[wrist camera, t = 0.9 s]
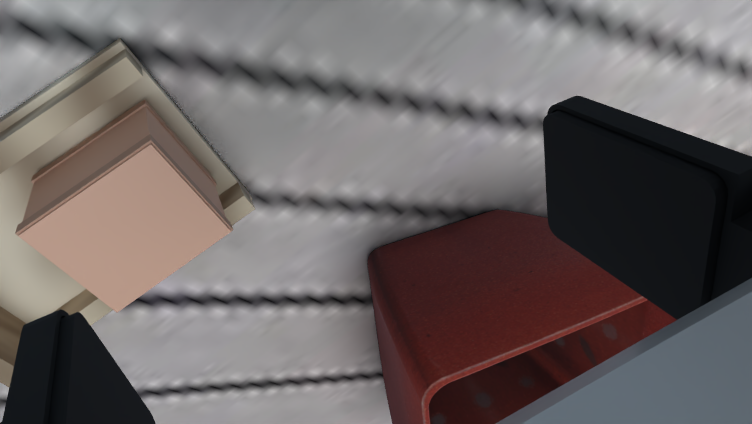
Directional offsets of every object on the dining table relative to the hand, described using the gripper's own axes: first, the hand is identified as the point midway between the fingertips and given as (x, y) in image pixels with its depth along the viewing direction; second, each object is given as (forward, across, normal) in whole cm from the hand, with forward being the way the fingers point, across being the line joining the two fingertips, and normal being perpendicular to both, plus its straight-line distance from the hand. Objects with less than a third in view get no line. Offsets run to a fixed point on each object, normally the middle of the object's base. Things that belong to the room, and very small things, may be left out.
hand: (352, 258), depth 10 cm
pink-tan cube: (+24, +6, +6) cm, 25 cm away
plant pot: (+26, -12, +26) cm, 38 cm away
